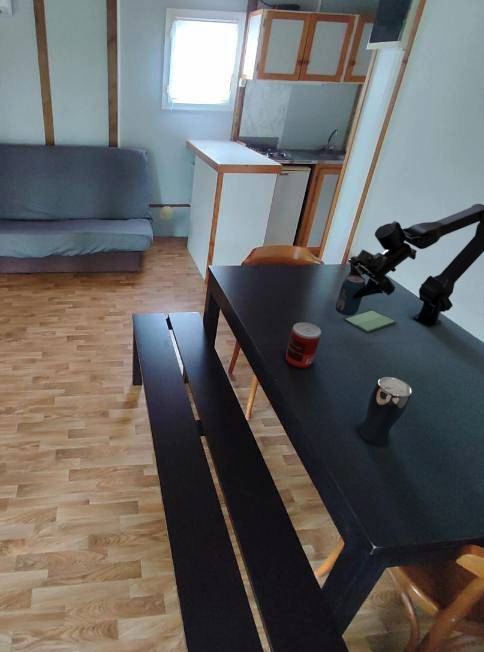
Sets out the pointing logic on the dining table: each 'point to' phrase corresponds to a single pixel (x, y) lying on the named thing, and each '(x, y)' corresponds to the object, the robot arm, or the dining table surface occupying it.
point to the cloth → (370, 321)
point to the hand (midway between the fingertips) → (347, 292)
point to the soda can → (349, 295)
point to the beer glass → (384, 409)
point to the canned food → (303, 345)
